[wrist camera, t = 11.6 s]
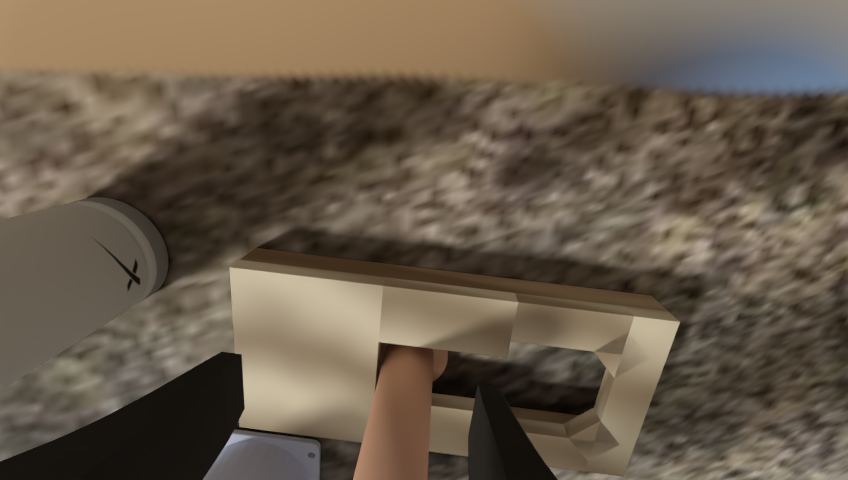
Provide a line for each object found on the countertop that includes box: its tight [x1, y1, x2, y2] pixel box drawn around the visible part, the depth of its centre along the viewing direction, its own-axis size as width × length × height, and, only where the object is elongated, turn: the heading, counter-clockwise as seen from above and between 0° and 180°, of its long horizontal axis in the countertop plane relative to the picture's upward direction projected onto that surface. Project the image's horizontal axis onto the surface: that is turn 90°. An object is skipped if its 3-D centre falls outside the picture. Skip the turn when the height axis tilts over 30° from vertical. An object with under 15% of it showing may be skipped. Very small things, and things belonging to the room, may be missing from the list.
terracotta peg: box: [353, 342, 448, 480], centre depth 19 cm, size 4×4×10 cm
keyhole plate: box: [230, 248, 680, 476], centre depth 22 cm, size 10×22×3 cm, turn 84°
